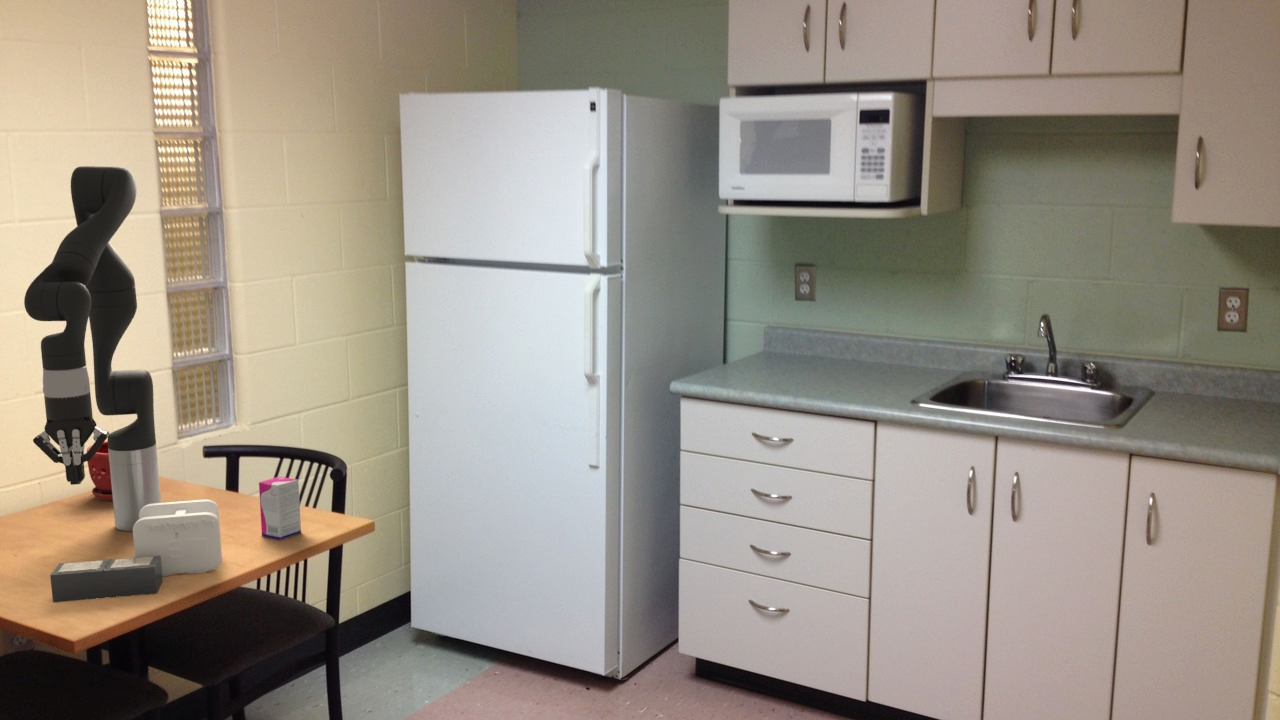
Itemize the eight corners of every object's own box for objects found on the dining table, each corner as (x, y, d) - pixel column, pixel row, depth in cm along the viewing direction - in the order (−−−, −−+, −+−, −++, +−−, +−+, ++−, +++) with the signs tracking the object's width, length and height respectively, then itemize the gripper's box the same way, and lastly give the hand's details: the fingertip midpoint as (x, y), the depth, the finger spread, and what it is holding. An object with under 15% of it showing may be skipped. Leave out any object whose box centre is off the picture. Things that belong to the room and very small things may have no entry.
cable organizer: (226, 554, 223) (222, 497, 221) (221, 573, 213) (217, 513, 211) (144, 562, 219) (139, 504, 217) (135, 581, 209) (130, 520, 207)
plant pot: (85, 506, 255) (80, 454, 253) (96, 490, 268) (92, 440, 266) (148, 501, 259) (144, 450, 256) (156, 486, 271) (152, 436, 269)
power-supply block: (61, 590, 205) (59, 562, 204) (162, 581, 209) (160, 554, 208) (53, 602, 199) (50, 574, 198) (156, 593, 203) (154, 565, 202)
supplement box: (302, 532, 236) (299, 479, 234) (280, 540, 231) (276, 486, 229) (282, 528, 239) (279, 475, 237) (260, 536, 234) (257, 482, 232)
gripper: (111, 385, 211) (119, 475, 215) (33, 388, 209) (42, 480, 212) (101, 394, 204) (110, 486, 208) (21, 397, 201) (31, 491, 205)
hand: (76, 483), depth 210 cm, fingers closed
